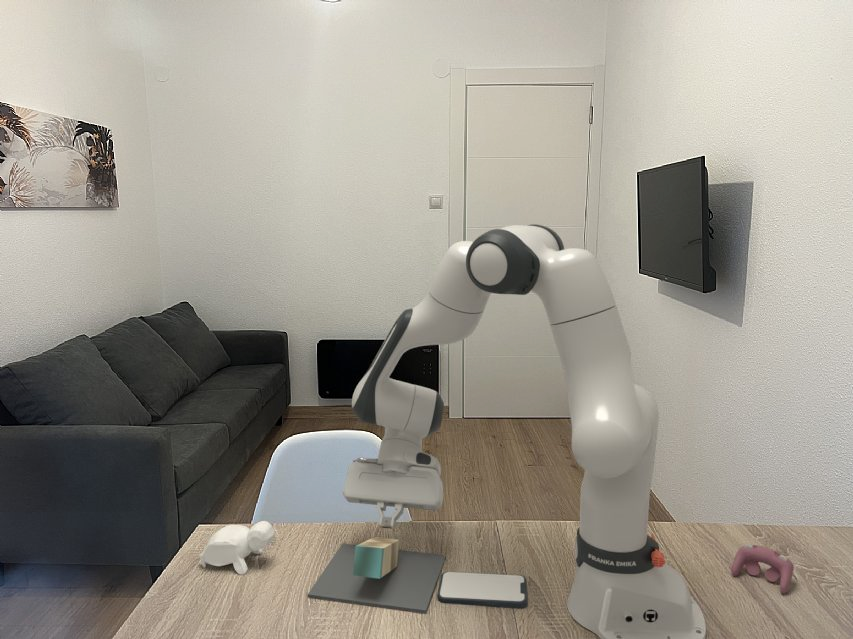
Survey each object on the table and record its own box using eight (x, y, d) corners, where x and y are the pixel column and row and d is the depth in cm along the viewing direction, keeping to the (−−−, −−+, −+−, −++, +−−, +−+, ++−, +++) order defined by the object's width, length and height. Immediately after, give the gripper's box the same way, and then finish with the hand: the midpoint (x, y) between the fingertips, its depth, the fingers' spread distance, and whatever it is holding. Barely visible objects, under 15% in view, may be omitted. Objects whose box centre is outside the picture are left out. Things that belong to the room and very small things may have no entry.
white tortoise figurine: (206, 586, 123) (272, 566, 120) (188, 547, 123) (254, 526, 119) (227, 562, 132) (289, 542, 129) (210, 526, 131) (272, 505, 128)
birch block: (399, 539, 124) (382, 549, 112) (397, 566, 123) (379, 578, 111) (374, 536, 125) (355, 545, 113) (372, 563, 124) (352, 575, 113)
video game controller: (790, 595, 116) (798, 557, 117) (786, 595, 113) (793, 556, 114) (733, 575, 123) (741, 539, 124) (727, 574, 119) (735, 537, 121)
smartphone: (436, 606, 113) (527, 611, 111) (436, 598, 112) (527, 603, 110) (442, 577, 121) (526, 582, 119) (441, 570, 121) (526, 574, 119)
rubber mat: (446, 557, 127) (446, 555, 127) (425, 613, 110) (425, 610, 110) (342, 545, 132) (342, 543, 132) (307, 597, 115) (307, 594, 114)
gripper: (347, 450, 131) (331, 517, 123) (444, 458, 126) (434, 527, 119) (355, 462, 136) (340, 527, 128) (448, 470, 131) (439, 537, 124)
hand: (386, 527), depth 124 cm, fingers closed
